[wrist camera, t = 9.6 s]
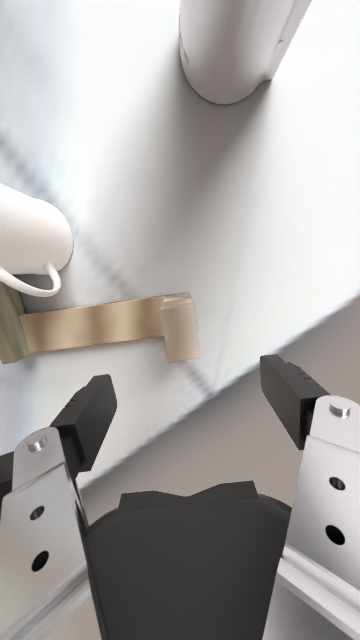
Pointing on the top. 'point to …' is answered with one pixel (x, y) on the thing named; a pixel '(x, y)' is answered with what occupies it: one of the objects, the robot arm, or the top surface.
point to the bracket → (98, 325)
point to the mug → (32, 241)
